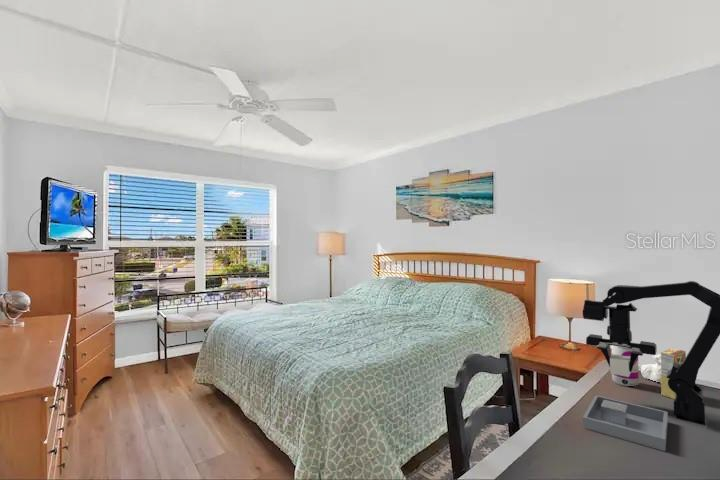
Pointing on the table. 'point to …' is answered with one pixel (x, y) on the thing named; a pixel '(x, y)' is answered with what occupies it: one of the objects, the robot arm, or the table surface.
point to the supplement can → (634, 374)
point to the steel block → (614, 412)
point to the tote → (630, 424)
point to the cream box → (620, 365)
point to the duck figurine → (652, 369)
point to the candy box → (669, 368)
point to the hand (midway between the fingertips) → (620, 369)
